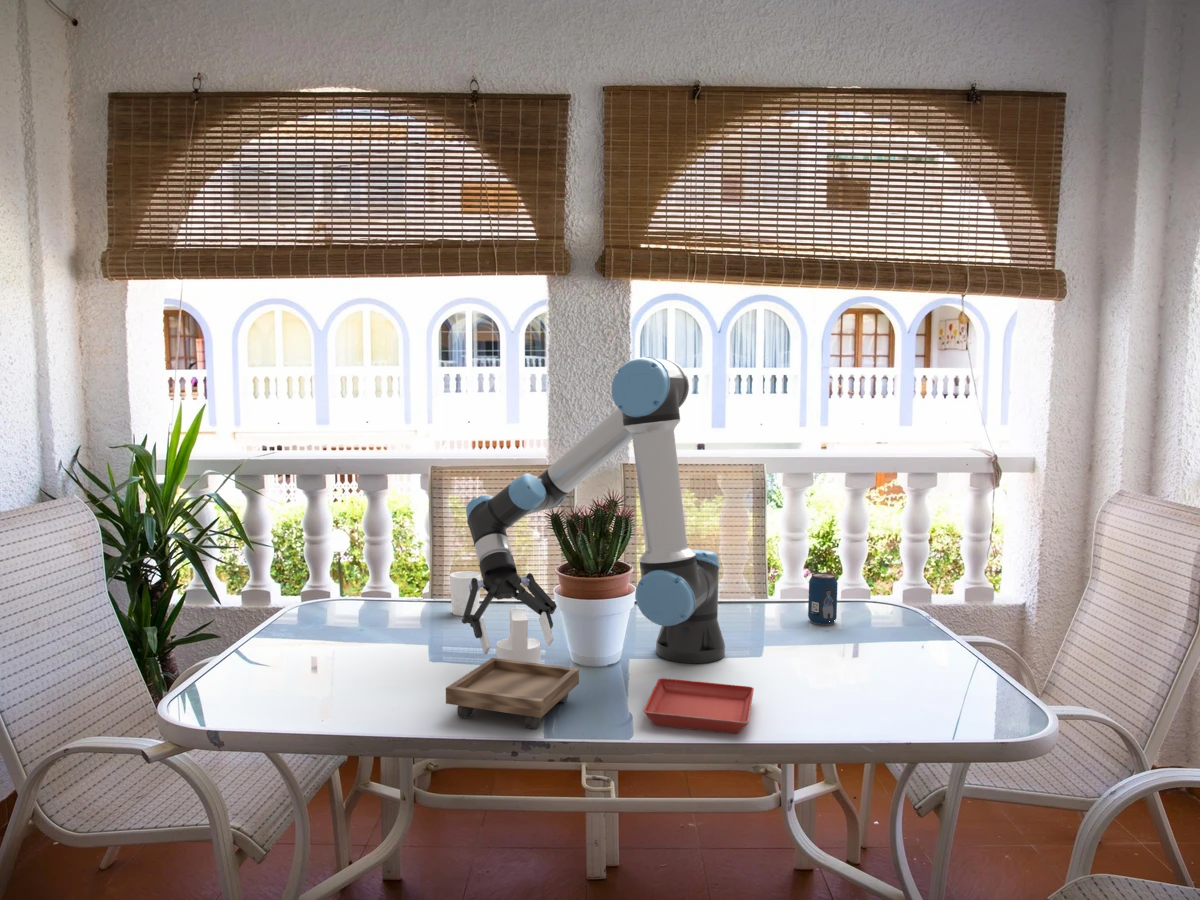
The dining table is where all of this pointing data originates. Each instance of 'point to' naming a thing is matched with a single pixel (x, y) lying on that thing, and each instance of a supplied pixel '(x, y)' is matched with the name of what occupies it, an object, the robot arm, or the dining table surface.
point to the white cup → (463, 591)
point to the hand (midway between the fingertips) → (519, 646)
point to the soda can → (822, 598)
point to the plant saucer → (699, 705)
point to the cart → (513, 689)
